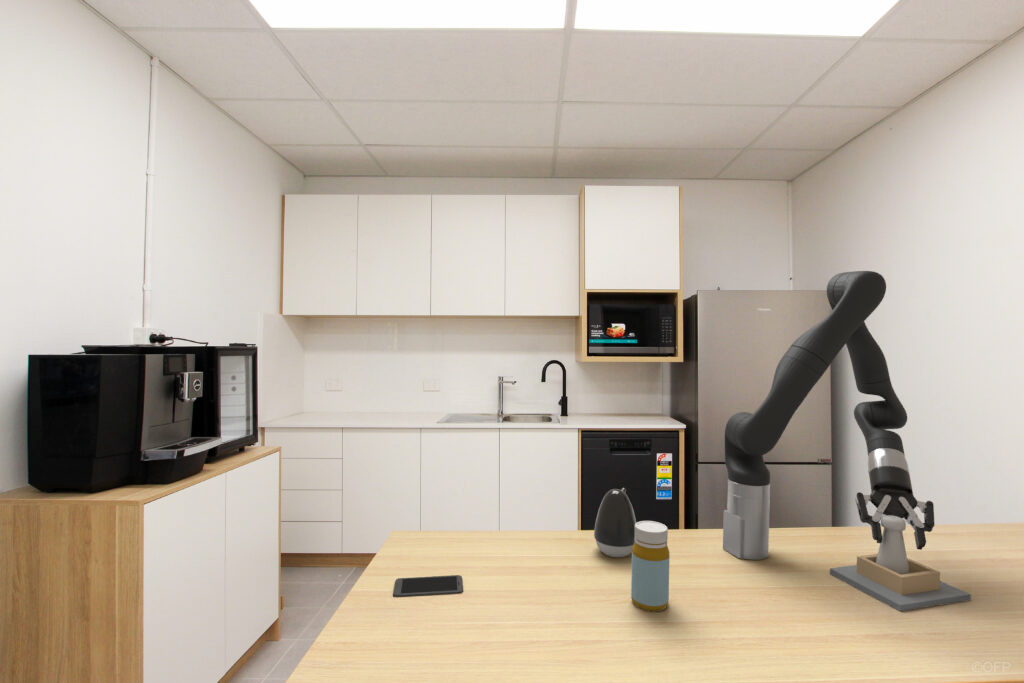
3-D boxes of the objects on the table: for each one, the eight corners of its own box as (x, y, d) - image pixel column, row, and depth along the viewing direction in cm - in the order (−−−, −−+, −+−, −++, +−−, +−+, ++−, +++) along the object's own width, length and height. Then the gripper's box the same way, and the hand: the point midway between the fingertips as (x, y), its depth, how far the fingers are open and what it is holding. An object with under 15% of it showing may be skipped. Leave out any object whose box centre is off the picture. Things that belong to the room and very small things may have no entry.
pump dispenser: (643, 550, 128) (644, 487, 127) (628, 566, 119) (629, 498, 119) (604, 540, 133) (605, 480, 133) (586, 555, 124) (587, 491, 124)
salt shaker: (914, 586, 109) (916, 523, 108) (883, 583, 110) (885, 520, 109) (899, 573, 114) (901, 513, 114) (870, 570, 115) (871, 511, 115)
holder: (900, 611, 101) (900, 586, 101) (829, 573, 116) (830, 552, 116) (970, 600, 106) (971, 576, 105) (893, 565, 121) (894, 544, 121)
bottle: (669, 597, 105) (670, 522, 105) (667, 615, 98) (669, 535, 98) (633, 591, 107) (634, 518, 107) (629, 608, 101) (630, 530, 100)
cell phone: (395, 581, 111) (395, 578, 111) (462, 578, 113) (462, 574, 113) (392, 599, 104) (392, 595, 104) (463, 595, 106) (463, 591, 106)
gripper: (853, 461, 120) (860, 530, 110) (932, 468, 114) (948, 543, 104) (849, 478, 125) (856, 546, 115) (924, 486, 119) (939, 559, 109)
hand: (899, 544), depth 109 cm, fingers open, 6 cm apart
